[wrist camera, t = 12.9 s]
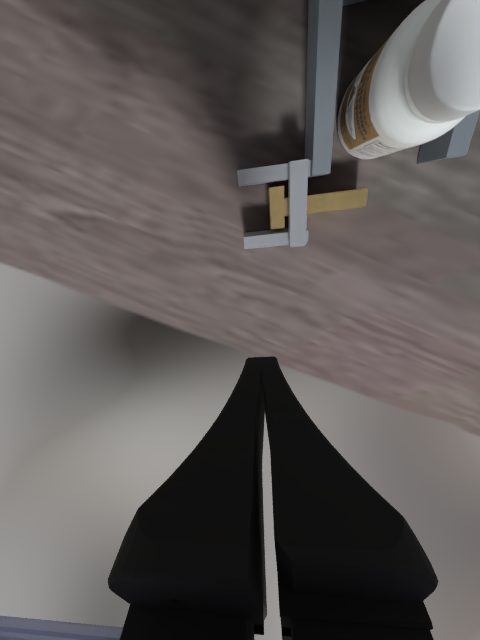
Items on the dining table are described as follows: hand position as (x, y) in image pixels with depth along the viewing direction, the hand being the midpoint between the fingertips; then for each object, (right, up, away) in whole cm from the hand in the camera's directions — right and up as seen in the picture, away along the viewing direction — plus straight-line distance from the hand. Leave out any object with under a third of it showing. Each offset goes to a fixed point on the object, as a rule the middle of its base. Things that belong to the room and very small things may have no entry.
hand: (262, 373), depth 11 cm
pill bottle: (+7, +15, +3) cm, 17 cm away
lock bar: (+4, +11, +5) cm, 12 cm away
